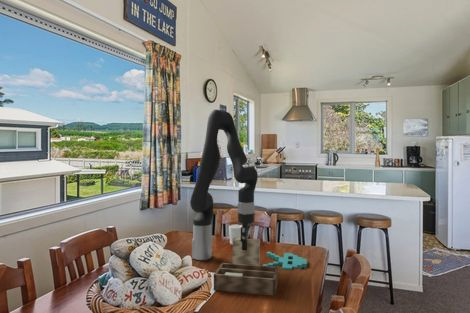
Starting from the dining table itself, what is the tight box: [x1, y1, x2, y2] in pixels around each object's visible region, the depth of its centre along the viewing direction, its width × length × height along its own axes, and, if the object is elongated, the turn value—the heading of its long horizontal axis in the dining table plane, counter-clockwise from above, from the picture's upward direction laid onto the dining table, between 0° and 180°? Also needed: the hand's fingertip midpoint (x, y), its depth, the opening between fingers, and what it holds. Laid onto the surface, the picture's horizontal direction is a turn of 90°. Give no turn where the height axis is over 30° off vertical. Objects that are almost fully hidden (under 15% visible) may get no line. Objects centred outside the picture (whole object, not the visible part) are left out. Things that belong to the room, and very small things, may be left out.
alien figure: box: [262, 251, 308, 271], centre depth 159 cm, size 20×2×20 cm
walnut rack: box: [213, 262, 279, 296], centre depth 133 cm, size 24×13×7 cm, turn 78°
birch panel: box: [232, 237, 261, 266], centre depth 149 cm, size 12×3×15 cm, turn 78°
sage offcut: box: [224, 272, 243, 276], centre depth 131 cm, size 7×4×5 cm, turn 78°
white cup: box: [228, 224, 242, 246], centre depth 191 cm, size 8×8×10 cm
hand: (246, 247), depth 149 cm, fingers open, 8 cm apart
